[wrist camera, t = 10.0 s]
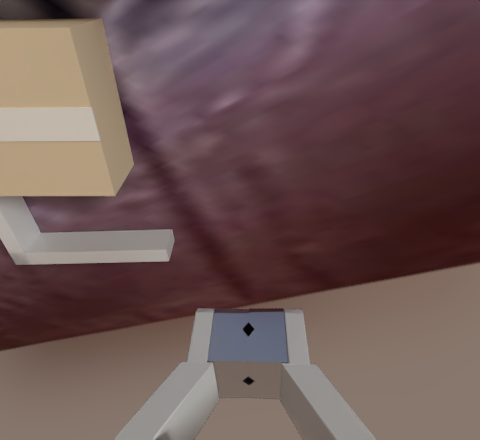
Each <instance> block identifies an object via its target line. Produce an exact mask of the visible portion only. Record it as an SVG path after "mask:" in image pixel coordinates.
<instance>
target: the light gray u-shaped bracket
mask: <svg viewBox="0 0 480 440" xmlns="http://www.w3.org/2000/svg"><path fill="white" fill-rule="evenodd" d="M0 239H1V240H2V242H3V244H4V245H5V247H6V249H7V250H8V252H9V254H10V255H11V257H12V259H13V260H14V262H15V264H16V265H31V264H73V263H115V262H157V261H169V259H170V256H171V252H172V248H173V245H174V241H175V240H174V235H173V230H172V229H164V230H128V231H93V232H57V233H41V232H40V230H39V228H38V226H37V224H36V222H35V221H34V219H33V217H32V215H31V213H30V211H29V209H28V207H27V205H26V203H25V201H24V199H23V197H22V196H0Z"/></svg>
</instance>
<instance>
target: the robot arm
mask: <svg viewBox="0 0 480 440" xmlns="http://www.w3.org/2000/svg"><path fill="white" fill-rule="evenodd" d="M219 398H263V399H281V400H280V401H281V403H282V405H283V406H284V408H285V410H286V411H287V413H288V415H289V417H290V419H291V420H292V422H293V424H294V425H295V427H296V429H297V431H298V432H299V434H300V436H301V438H302V439H303V440H376V439H375V438H374V436H373V435H372V434H371V433H370V431H369V430H368V429H367V428H366V426H365V425H364V424H363V423H362V421H361V420H360V419H359V418H358V416H357V415H356V414H355V413H354V411H353V410H352V409H351V408H350V406H349V405H348V404H347V403H346V401H345V400H344V399H343V398H342V396H341V395H340V394H339V393H338V391H337V390H336V389H335V388H334V386H333V385H332V384H331V382H330V381H329V380H328V379H327V378H326V376H325V375H324V374H323V372H322V371H321V370H320V369H319V368H318V366H317V365H316V364H310V359H309V352H308V344H307V337H306V329H305V322H304V314H303V311H302V309H249V310H247V309H216V308H198V309H197V311H196V313H195V318H194V323H193V329H192V334H191V339H190V345H189V350H188V355H187V361H186V362H180V364H179V365H178V366H177V367H176V368H175V369H174V370H173V372H172V373H171V374H170V375H169V376H168V377H167V378H166V380H165V381H164V382H163V383H162V384H161V385H160V386H159V388H158V389H157V390H156V391H155V392H154V393H153V394H152V396H151V397H150V398H149V399H148V400H147V401H146V403H145V404H144V405H143V406H142V407H141V408H140V409H139V411H138V412H137V413H136V414H135V415H134V417H133V418H132V419H131V420H130V421H129V422H128V423H127V424H126V425H125V427H124V428H123V429H122V430H121V431H120V432H119V434H118V435H117V436H116V437H115V440H195V438H196V437H197V435H198V434H199V432H200V431H201V429H202V427H203V426H204V424H205V423H206V421H207V419H208V418H209V416H210V415H211V412H212V411H213V410H214V408H215V407H216V405H217V403H218V402H219Z"/></svg>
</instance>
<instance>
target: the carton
mask: <svg viewBox="0 0 480 440" xmlns="http://www.w3.org/2000/svg"><path fill="white" fill-rule="evenodd" d="M133 165H134V163H133V158H132V154H131V149H130V145H129V140H128V136H127V131H126V126H125V122H124V117H123V113H122V108H121V104H120V99H119V94H118V90H117V85H116V81H115V76H114V72H113V67H112V63H111V58H110V53H109V49H108V44H107V40H106V35H105V31H104V26H103V21H102V18H90V19H7V20H0V196H115V195H116V194H117V192H118V190H119V189H120V187H121V185H122V184H123V182H124V180H125V179H126V177H127V175H128V174H129V172H130V170H131V169H132V167H133Z"/></svg>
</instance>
